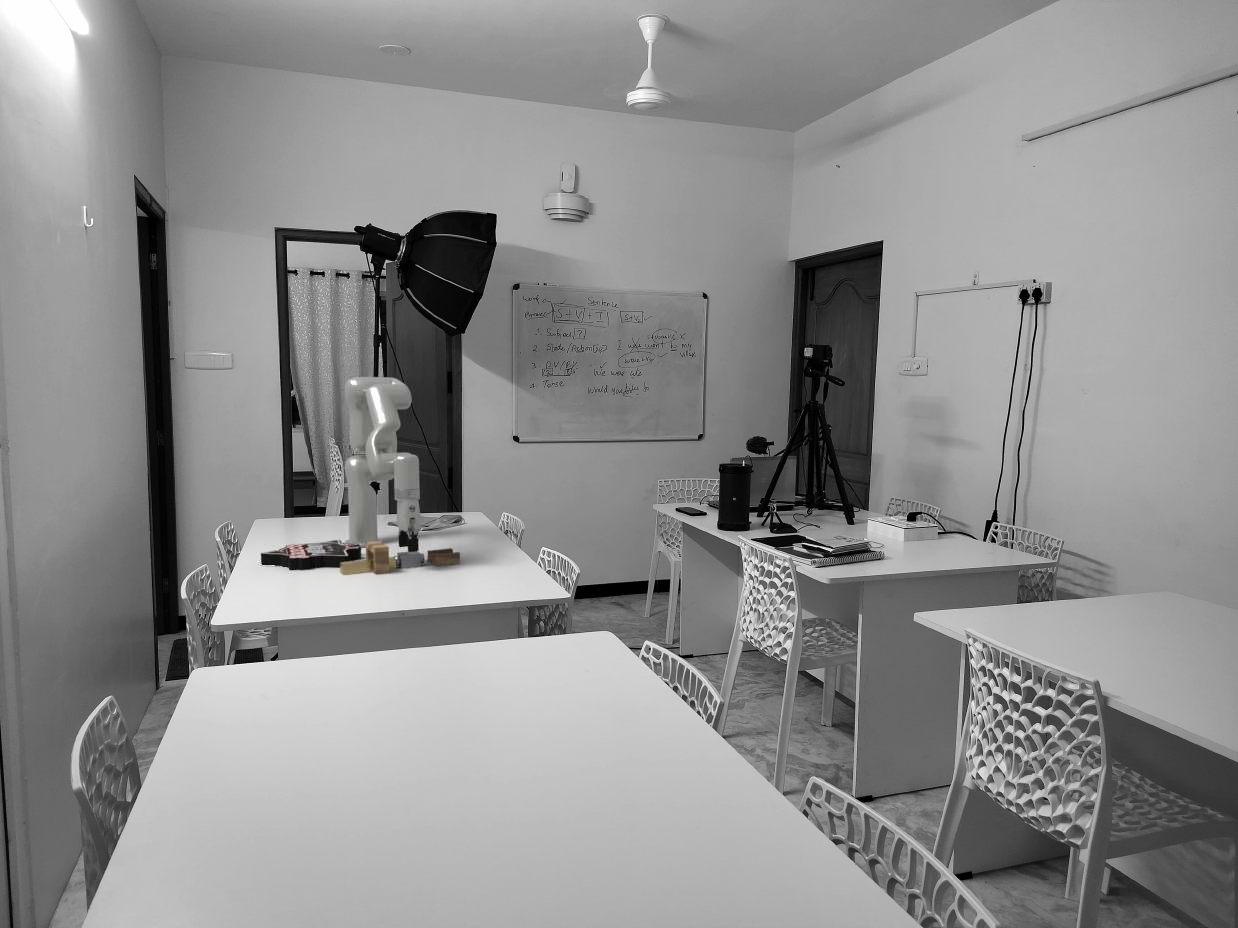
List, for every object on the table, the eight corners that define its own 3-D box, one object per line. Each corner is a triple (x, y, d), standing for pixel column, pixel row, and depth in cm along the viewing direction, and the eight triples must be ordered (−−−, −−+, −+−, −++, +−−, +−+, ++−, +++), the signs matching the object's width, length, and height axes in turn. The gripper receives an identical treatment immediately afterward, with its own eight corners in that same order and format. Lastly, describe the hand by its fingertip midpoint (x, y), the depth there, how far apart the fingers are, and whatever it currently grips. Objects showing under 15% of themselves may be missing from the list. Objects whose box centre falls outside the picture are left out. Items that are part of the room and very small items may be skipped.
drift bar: (342, 576, 242) (342, 564, 242) (340, 573, 245) (339, 562, 244) (396, 569, 250) (395, 558, 250) (393, 567, 253) (392, 556, 253)
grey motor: (396, 569, 250) (396, 555, 250) (392, 566, 254) (392, 553, 253) (425, 566, 255) (425, 552, 254) (421, 563, 258) (420, 550, 258)
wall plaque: (366, 554, 253) (261, 562, 241) (367, 567, 254) (262, 576, 241) (355, 538, 279) (259, 545, 266) (355, 550, 279) (260, 557, 266)
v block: (427, 561, 261) (427, 550, 261) (451, 558, 265) (451, 548, 265) (435, 566, 254) (435, 555, 254) (460, 563, 258) (460, 552, 258)
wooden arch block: (366, 566, 253) (365, 541, 252) (379, 565, 255) (378, 540, 254) (375, 574, 243) (375, 548, 242) (389, 572, 245) (388, 546, 244)
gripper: (427, 496, 246) (429, 552, 247) (410, 491, 261) (412, 543, 262) (403, 498, 242) (404, 554, 244) (387, 492, 257) (388, 546, 258)
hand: (408, 549), depth 253 cm, fingers open, 9 cm apart
